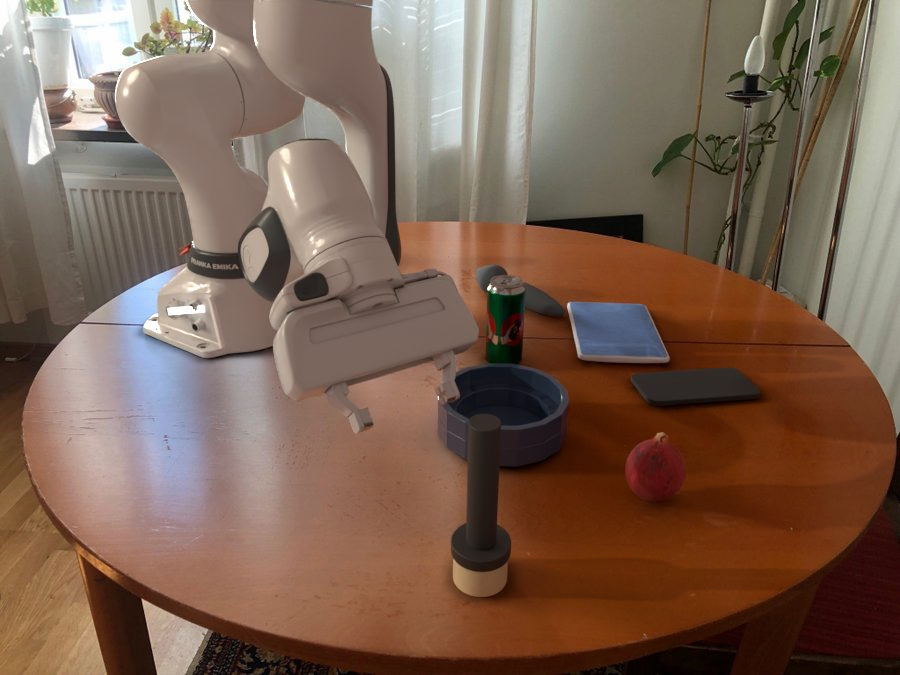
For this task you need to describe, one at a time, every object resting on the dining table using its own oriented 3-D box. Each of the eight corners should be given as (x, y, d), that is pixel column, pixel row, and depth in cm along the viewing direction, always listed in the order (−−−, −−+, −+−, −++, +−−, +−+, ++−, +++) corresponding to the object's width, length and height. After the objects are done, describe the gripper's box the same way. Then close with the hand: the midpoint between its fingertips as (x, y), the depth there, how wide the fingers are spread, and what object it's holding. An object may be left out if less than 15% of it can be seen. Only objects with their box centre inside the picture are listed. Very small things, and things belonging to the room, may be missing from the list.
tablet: (566, 307, 119) (566, 299, 118) (645, 309, 118) (646, 301, 118) (578, 364, 102) (578, 355, 101) (670, 367, 101) (672, 358, 100)
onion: (669, 526, 72) (681, 458, 68) (613, 506, 74) (621, 439, 71) (686, 494, 76) (698, 429, 73) (632, 476, 79) (641, 412, 75)
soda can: (526, 357, 103) (531, 277, 98) (514, 373, 99) (518, 290, 94) (493, 350, 105) (496, 271, 100) (479, 366, 101) (481, 284, 96)
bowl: (416, 452, 83) (416, 410, 80) (467, 392, 95) (468, 354, 92) (542, 486, 77) (545, 442, 75) (579, 417, 89) (583, 378, 87)
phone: (764, 394, 93) (651, 402, 91) (762, 399, 93) (650, 408, 91) (734, 366, 99) (628, 373, 97) (733, 371, 100) (627, 378, 98)
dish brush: (441, 587, 64) (441, 431, 57) (464, 549, 69) (467, 399, 62) (497, 606, 63) (504, 446, 55) (517, 566, 67) (526, 413, 60)
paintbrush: (577, 313, 117) (580, 284, 114) (559, 323, 113) (561, 293, 111) (480, 282, 128) (481, 255, 126) (461, 290, 125) (462, 262, 123)
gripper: (434, 278, 80) (484, 395, 77) (252, 320, 70) (301, 457, 67) (458, 251, 75) (512, 375, 72) (264, 293, 65) (319, 439, 62)
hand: (409, 415), depth 70 cm, fingers open, 8 cm apart
